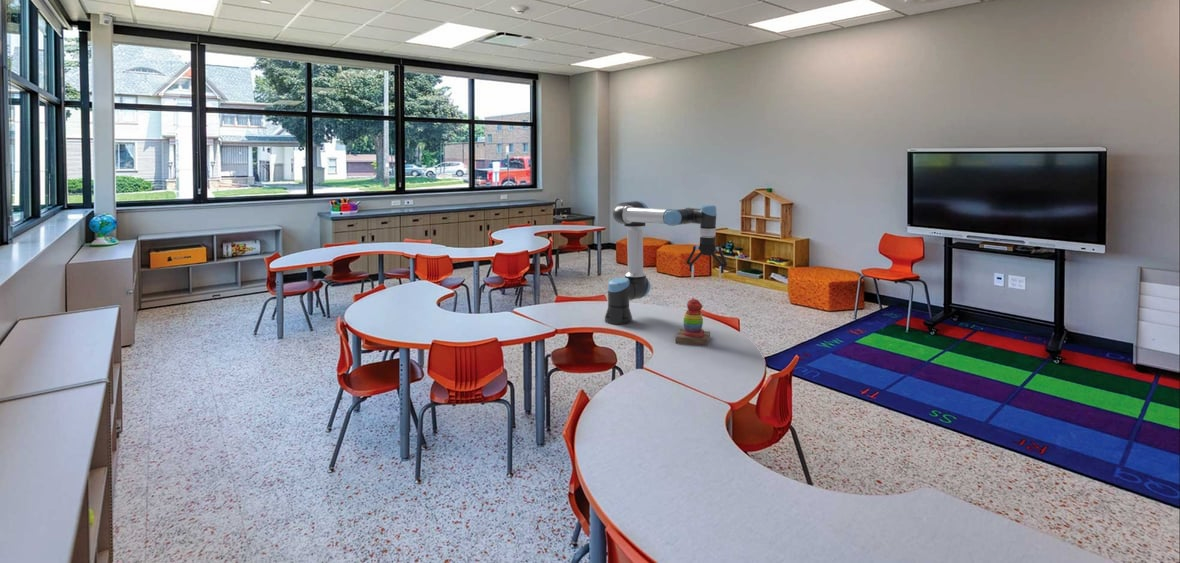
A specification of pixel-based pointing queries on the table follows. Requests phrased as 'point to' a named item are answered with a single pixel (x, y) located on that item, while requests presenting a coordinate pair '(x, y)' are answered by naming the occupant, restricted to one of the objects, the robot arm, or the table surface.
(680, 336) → the walnut plinth
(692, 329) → the stacking bear
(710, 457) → the table surface
